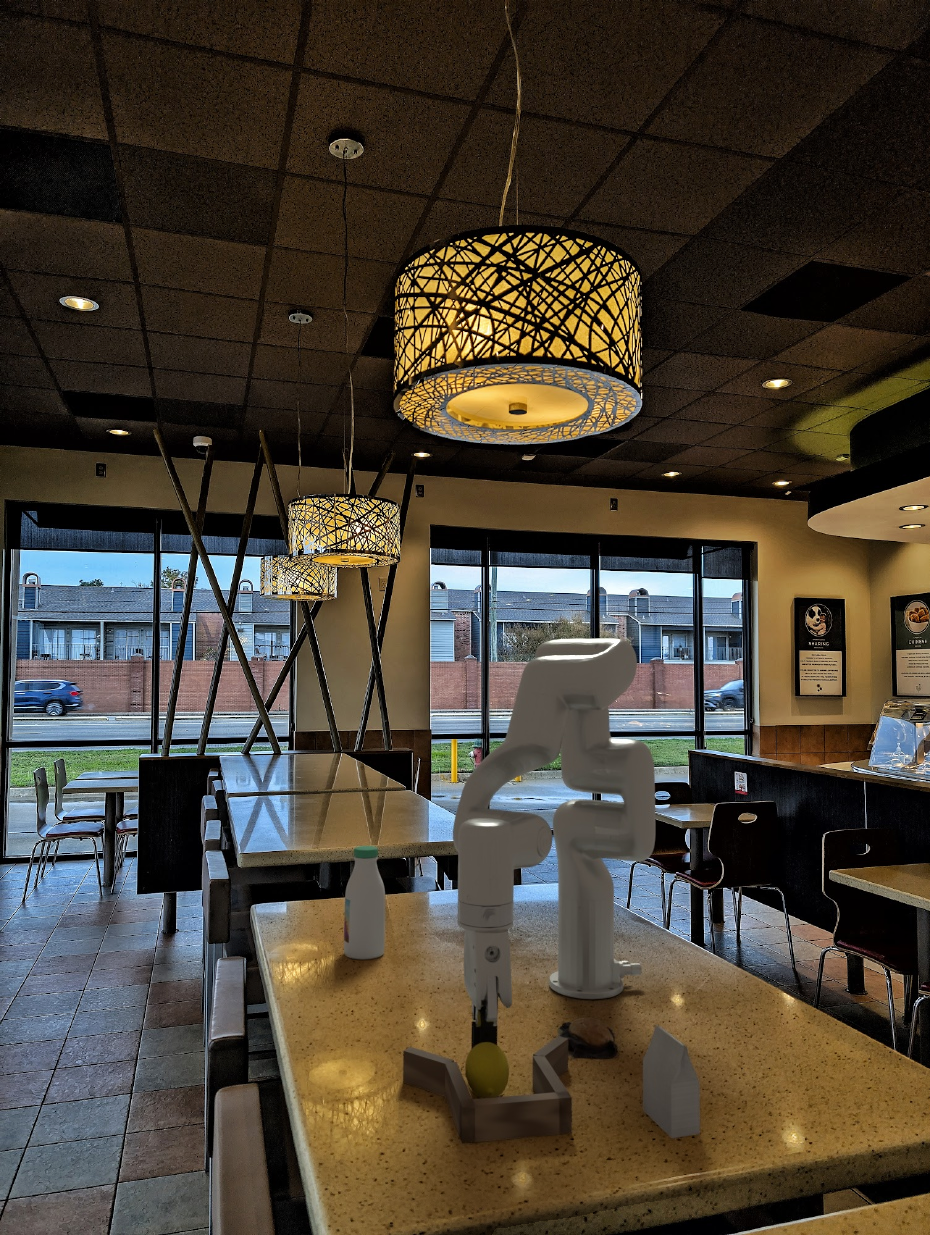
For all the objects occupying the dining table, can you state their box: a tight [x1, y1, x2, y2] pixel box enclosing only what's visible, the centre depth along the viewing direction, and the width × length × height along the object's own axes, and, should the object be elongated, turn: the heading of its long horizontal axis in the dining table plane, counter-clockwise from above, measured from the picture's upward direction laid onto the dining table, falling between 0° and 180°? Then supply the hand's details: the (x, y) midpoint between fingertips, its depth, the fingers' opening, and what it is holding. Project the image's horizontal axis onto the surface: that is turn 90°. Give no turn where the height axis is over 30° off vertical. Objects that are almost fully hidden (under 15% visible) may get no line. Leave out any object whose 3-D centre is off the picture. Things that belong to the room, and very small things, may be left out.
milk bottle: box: [343, 845, 386, 960], centre depth 166 cm, size 8×8×20 cm
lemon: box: [464, 1042, 510, 1099], centre depth 110 cm, size 6×6×8 cm
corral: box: [402, 1036, 573, 1144], centre depth 108 cm, size 22×17×4 cm
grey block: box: [642, 1024, 701, 1139], centre depth 104 cm, size 4×7×10 cm, turn 17°
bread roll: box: [556, 1017, 620, 1060], centre depth 126 cm, size 11×8×4 cm
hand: (484, 1053), depth 115 cm, fingers closed
